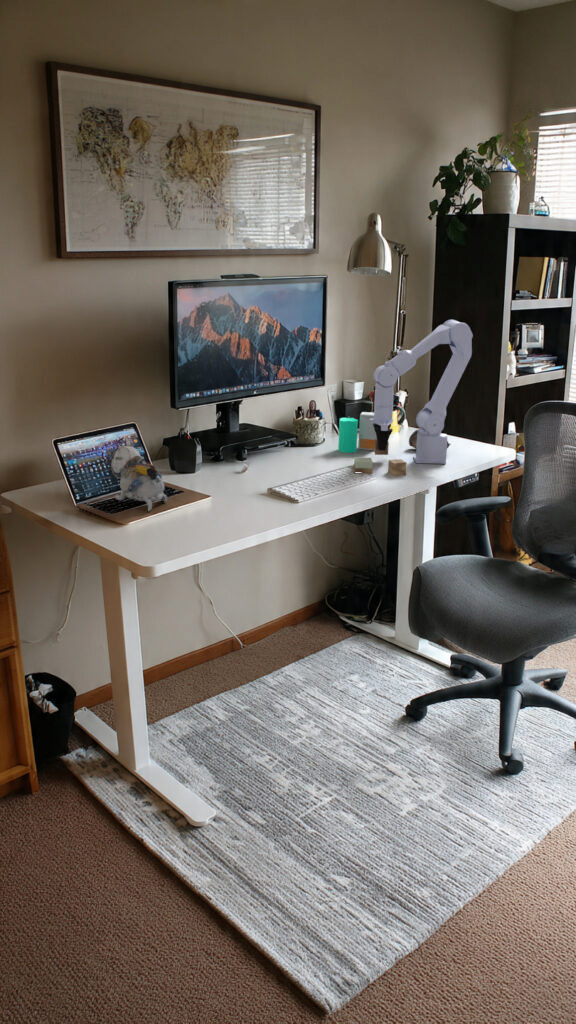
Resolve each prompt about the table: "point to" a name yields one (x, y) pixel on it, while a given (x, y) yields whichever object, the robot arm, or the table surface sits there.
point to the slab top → (362, 462)
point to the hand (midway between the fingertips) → (381, 448)
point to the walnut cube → (380, 452)
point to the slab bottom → (363, 470)
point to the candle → (348, 435)
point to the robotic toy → (136, 476)
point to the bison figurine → (414, 440)
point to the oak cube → (397, 467)
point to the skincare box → (366, 432)
